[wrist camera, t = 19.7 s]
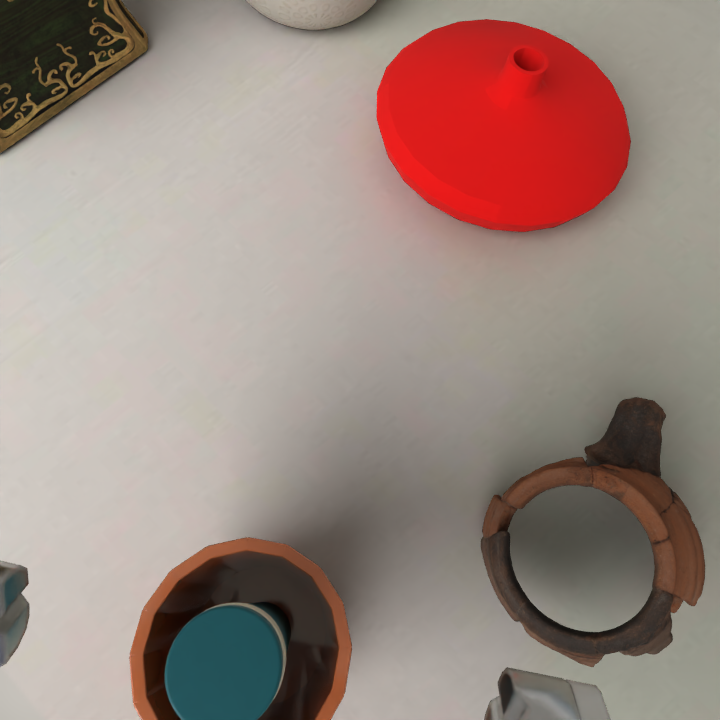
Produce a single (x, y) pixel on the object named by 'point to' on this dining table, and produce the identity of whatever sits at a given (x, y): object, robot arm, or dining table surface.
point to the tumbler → (249, 585)
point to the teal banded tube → (228, 662)
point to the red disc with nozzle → (502, 125)
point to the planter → (312, 12)
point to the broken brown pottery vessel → (647, 502)
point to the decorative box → (58, 56)
